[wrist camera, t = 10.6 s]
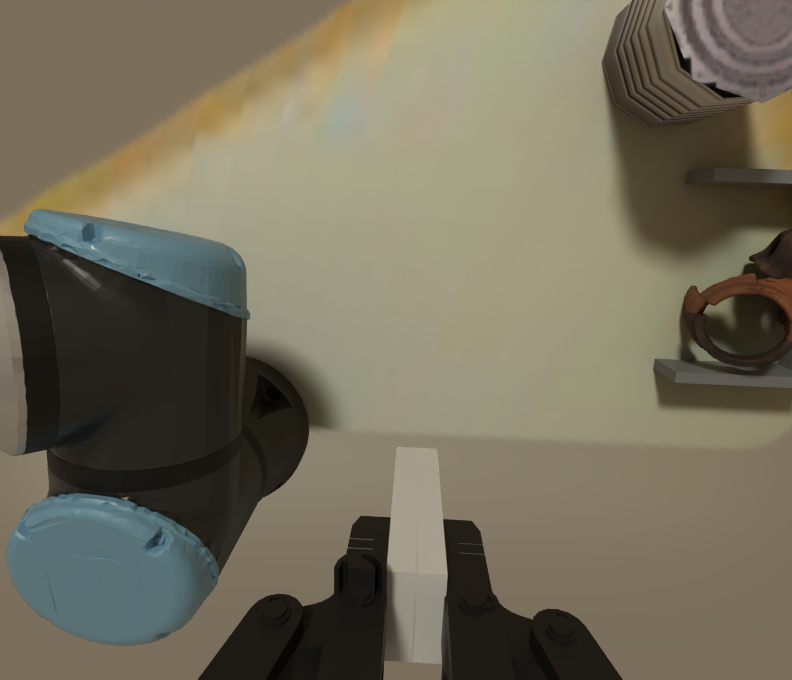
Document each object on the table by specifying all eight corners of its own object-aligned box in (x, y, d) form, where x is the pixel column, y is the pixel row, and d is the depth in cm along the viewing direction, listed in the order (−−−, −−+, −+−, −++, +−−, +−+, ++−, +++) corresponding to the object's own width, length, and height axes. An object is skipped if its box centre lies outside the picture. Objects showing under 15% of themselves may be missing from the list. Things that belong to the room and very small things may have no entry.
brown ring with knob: (780, 350, 47) (789, 391, 40) (672, 322, 51) (664, 355, 44) (845, 226, 41) (867, 252, 35) (716, 205, 45) (716, 225, 38)
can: (581, 111, 42) (645, 72, 30) (629, -40, 39) (719, -147, 27) (709, 144, 42) (821, 118, 30) (766, -4, 39) (914, -95, 28)
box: (653, 368, 47) (674, 382, 43) (688, 171, 43) (715, 167, 39) (786, 374, 47) (819, 389, 43) (835, 176, 42) (878, 172, 38)
